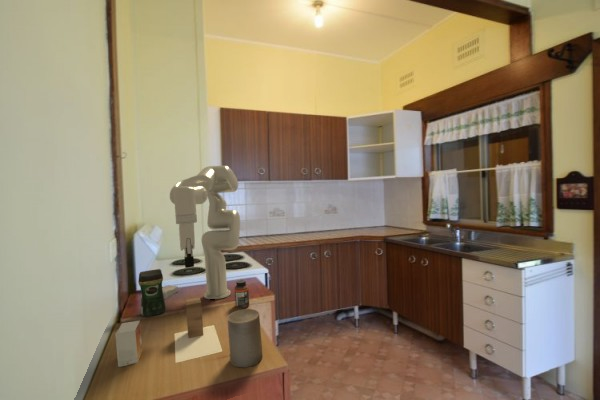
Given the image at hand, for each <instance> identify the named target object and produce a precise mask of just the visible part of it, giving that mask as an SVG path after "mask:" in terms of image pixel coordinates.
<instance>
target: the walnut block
mask: <svg viewBox="0 0 600 400" xmlns="http://www.w3.org/2000/svg"><path fill="white" fill-rule="evenodd" d="M185 313H186V325H187V331H188V338H193V337H197V336H202V335H203V327H204V324H203V323H204V322H203V309H202V301H201V297H196V298H190V299H185Z"/></svg>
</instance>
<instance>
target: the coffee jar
mask: <svg viewBox="0 0 600 400" xmlns="http://www.w3.org/2000/svg"><path fill="white" fill-rule="evenodd" d="M137 281H138V285H139V287H140V311H141V312H140V313H141V316H142V317H145V316H147V317H152V315H153V316H156V315H160V314H163V313H165V312H166V310H167V309H166V299H164V295H163V290H162V287H163V281H164V275H163V273H162V270H161V269H160V268H157V269H149V270H144V271H143V270H142V271H140V272H139V273H138V280H137Z"/></svg>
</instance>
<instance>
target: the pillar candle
mask: <svg viewBox="0 0 600 400" xmlns="http://www.w3.org/2000/svg"><path fill="white" fill-rule="evenodd" d="M226 319H227V331H228V344H229V346H228V347H229V357H230V359H229V360H230V364H231V365H233V366H234V367H240V368H249V367H253V366H255V365H256V364H259V362H260V361H262V358H263V344H262V343H263V342H262V330H261V322H260V321H261V320H260V313H259V311H258V310H257V309H252V308H241V309H237V310H235V311H233V312H231V313H230V314H229V315H228V316H227V317H226Z"/></svg>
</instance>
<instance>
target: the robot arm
mask: <svg viewBox="0 0 600 400" xmlns="http://www.w3.org/2000/svg"><path fill="white" fill-rule="evenodd" d="M238 188H239V181H238V178H237V176H236V174H235V173H234V172H233V170H232V168H230V167H229V166H228V165H213V166H212V165H211V166H206V167H204V168H202V169H201V170H200V172H199V173H197V175H194V176H190V177H188V178H186V179H183V180H180V181H178V182H176V183H175V184H174V185H173V186H172V188H171V189H170V192H169V200H170V202H171V203H172V204H173V205H174V213H175V216H174V217H175V225H178V232H179V233H178V234H179V235H178V236H179V248H180V251H184V267H185V268H193V267H195V260H194V259H195V257H194V253H193V252H194V251H193V250H194V249H195V238H196V237H195V223H197V222H198V217H197V205H203V204H204V203H205V202H206V201H208V203H209V205H208V213H207V214H208V215H207V227H208V228H209V229H210V230H209V231H206V232H203V234H202V236H201V246H202V249H203V256H204V265H205V266H204V267H205V280H206V281H205V282H206V283H205V284H206V292H204V293H203V298H204V299H206V300H210V299H215V300H220V299H224V298H227V297H229V296H230V295H231V290H230V289H228V283H227V282H228V281H227V279H228V278H227V267H226V266H227V265H226V257H225V256H224V254H223V252H222V251H233V250H236V249H237V248H238V246H239V244H240V243H239V242H240V229H241V216H240V213H239V212H238V211H237V210H235V209H227V201H226V200H225V199H224V198H223V196H222V195H221V194H220V193H234V192H236V191H237V190H238Z"/></svg>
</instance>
